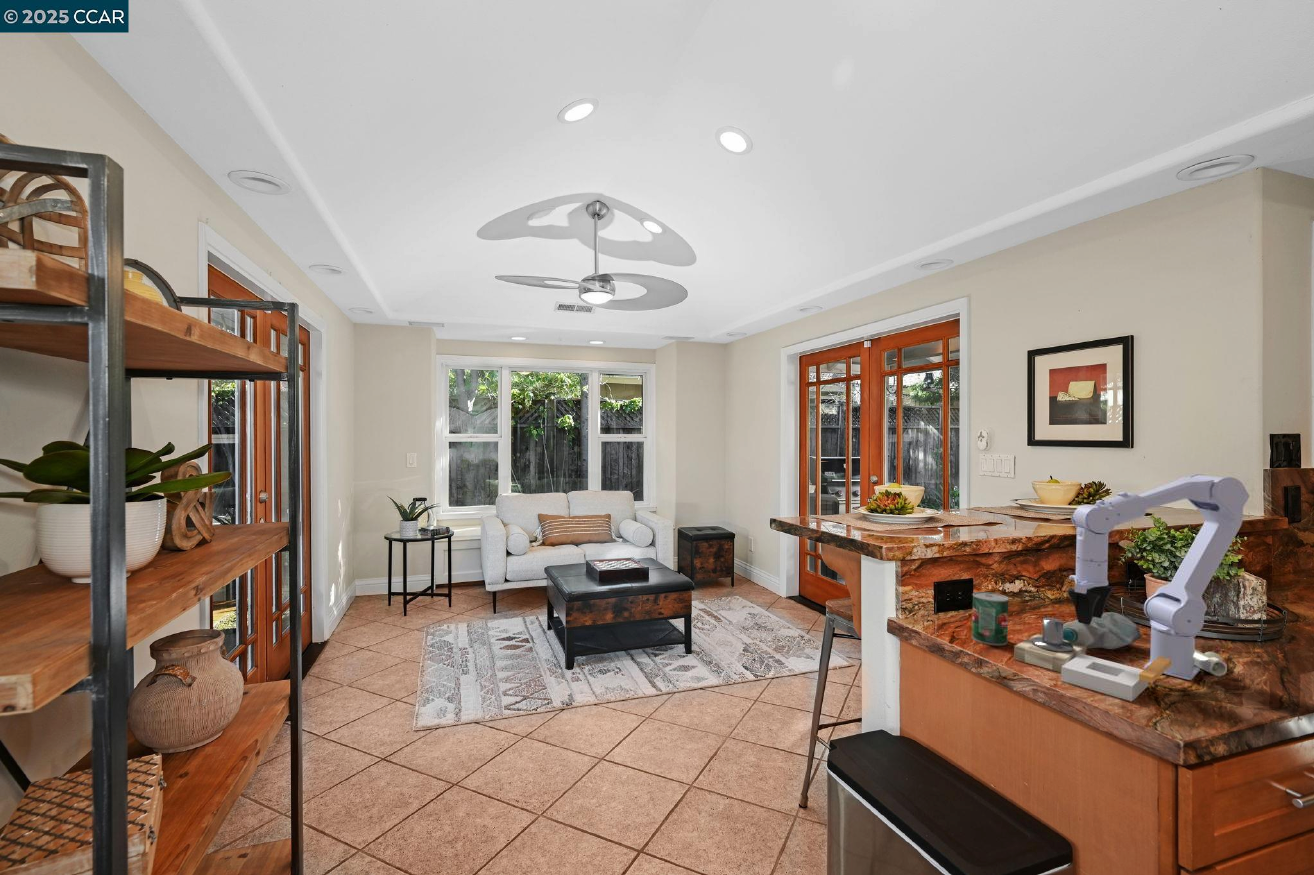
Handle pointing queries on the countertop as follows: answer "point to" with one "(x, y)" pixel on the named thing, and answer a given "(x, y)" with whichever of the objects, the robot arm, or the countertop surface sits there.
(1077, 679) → the socket block
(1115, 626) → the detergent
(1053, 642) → the glossy grey dome knob
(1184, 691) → the countertop surface
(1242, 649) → the countertop surface
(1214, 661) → the pipe fitting
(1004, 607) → the canned tomato
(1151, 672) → the bar
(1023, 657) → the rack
